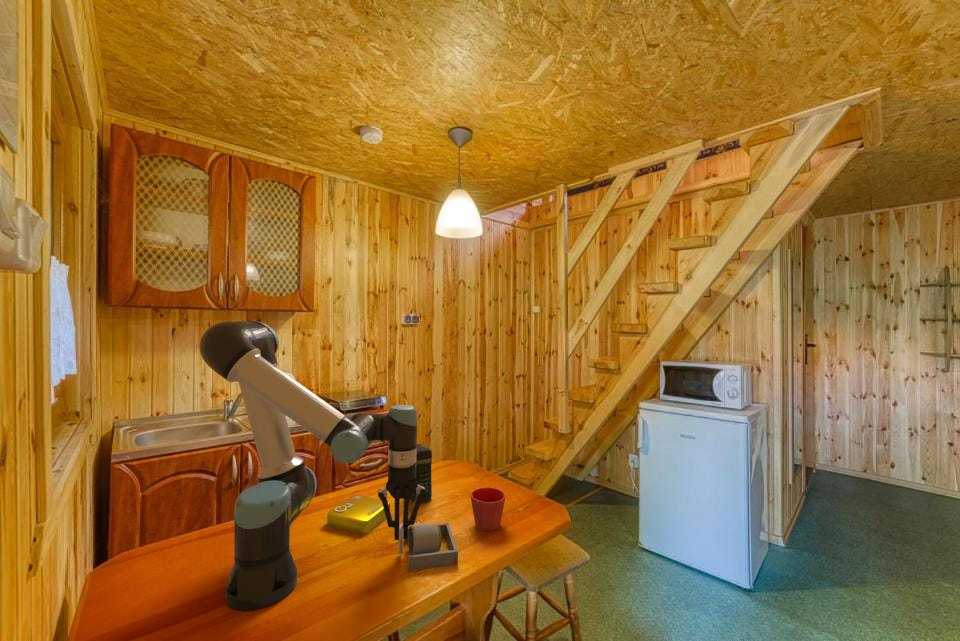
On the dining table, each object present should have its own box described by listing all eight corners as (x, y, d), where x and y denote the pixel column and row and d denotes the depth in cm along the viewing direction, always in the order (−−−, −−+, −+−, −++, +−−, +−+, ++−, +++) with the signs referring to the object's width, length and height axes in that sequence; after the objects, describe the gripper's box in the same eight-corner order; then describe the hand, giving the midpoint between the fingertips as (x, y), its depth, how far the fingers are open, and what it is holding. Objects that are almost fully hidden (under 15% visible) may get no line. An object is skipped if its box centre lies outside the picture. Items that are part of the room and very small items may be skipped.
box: (408, 571, 105) (408, 557, 105) (404, 539, 120) (404, 527, 120) (457, 564, 108) (457, 551, 108) (448, 534, 123) (448, 523, 123)
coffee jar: (435, 500, 146) (435, 448, 145) (414, 505, 141) (414, 451, 141) (423, 490, 154) (424, 440, 154) (403, 495, 149) (404, 444, 149)
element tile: (364, 536, 122) (365, 520, 122) (324, 527, 127) (324, 511, 127) (392, 514, 136) (392, 499, 136) (354, 506, 141) (354, 492, 141)
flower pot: (486, 538, 121) (487, 505, 121) (463, 523, 129) (463, 493, 129) (512, 526, 128) (512, 495, 128) (488, 513, 136) (488, 484, 136)
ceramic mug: (442, 556, 112) (443, 528, 112) (412, 563, 109) (413, 533, 109) (432, 537, 121) (432, 511, 121) (404, 543, 118) (405, 516, 118)
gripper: (378, 469, 106) (376, 561, 106) (427, 466, 109) (425, 555, 109) (378, 460, 114) (376, 546, 114) (424, 457, 117) (422, 541, 117)
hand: (400, 550), depth 111 cm, fingers closed
